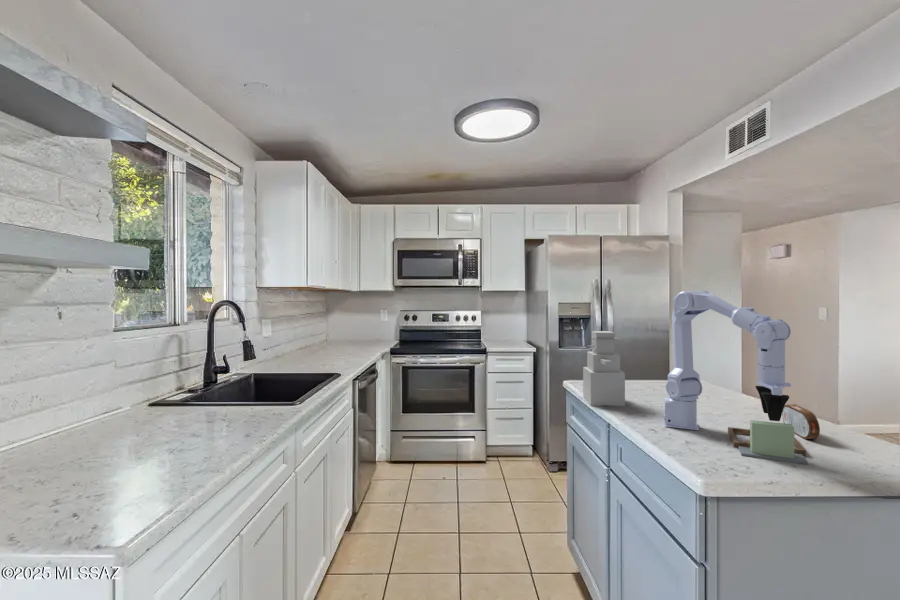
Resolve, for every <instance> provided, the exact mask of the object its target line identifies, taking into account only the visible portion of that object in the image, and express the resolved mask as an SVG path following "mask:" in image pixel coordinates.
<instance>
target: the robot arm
mask: <svg viewBox="0 0 900 600" xmlns="http://www.w3.org/2000/svg"><path fill="white" fill-rule="evenodd" d="M709 310H711V311H714V312H716V313H718V314H719V315H723V316H725V317H727V318H730V319H731V322H732V324H733V325H734V326H736V327H738V328H740V329H742V330H743V331H746V332H748V333H750V334H752V335H753V338H754V339H755V340H756V346H757V348H758V349H757V351H758V352H757V353H758V355H757V356H758V357H757V358H758V359H757V360H758V361H757V363H758V364H757V367H758V368H757V369H758V370H757V372H758V373H757V374H758V375H757V377H758V379H757V382H756V383H757V385H755V386H754V387H755V389H756V390H757V391H756V392H757V393H758V395H759V399H760V402H761V408H762V411H763V413H764V414H767V416H768V419H769V422H780V421H781V419H782V416H783V414H782V411H783V408H784V406H785V405H787V402H788V401H789V399H790V395H788V394H783V389H785V388H788V387H790V388H791V386H792V384H791V382H786V340H788V339H789V338H790V335H791V327H790V325H789V324H788V323H787V322H786V321H784V320H783V319H781V318H780V319H772V318H771V316H769V315H768V314H761V313H760V312H758V311H755V307H752V306H746V307H745V306H743V307H739V308H738V307H737V306H735V305H733V304H732V303H729V302H728V301H726V300H724V299H722V298H720V297H718V296H717V295H716V294H714V293H712V292H709V291H707V290H702V291H685V290H682V291H680V292H678V293H677V294H676V296H674V297H673V310H672V313H671V315H672V316H671V318H672V319H671V322H672V326H671V327H672V344H673V346H672V347H673V369H672V370H671V371H670V372H669V373H668V374H667V381H666V384H665V390H666V393H667V395H668V396H669V397H664V413H663V420H664V427H666V428H674V429H681V430H682V429H684V430H691V431H693V430H694V431H699V429H700V428H699V423H698V421H697V415H698V414H697V412H698V411H697V409H698V407H697V405H698V403H697V402H698V401H697V400H699V396H701V394H702V393H703V385H702V382H701V379H700V374H699V373H698V372H697V371H696V370H695V369H694V356H693V354H694V351H693V333H692V332H693V331H692V330H693V329H692V321H693V320H694V319H695V318H697V316H699V315H701V314H702V313H704V312H708V311H709Z"/></svg>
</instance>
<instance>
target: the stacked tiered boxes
mask: <svg viewBox="0 0 900 600" xmlns="http://www.w3.org/2000/svg"><path fill="white" fill-rule="evenodd" d="M616 340H621V338H619V337H618V336H617V337H616V336H615V332H614V331H610V330H603V331H602V330H599V331H598V330H592V331H591V344H590V345H588V347H591V351H587V352H586V353H587V354H586V355H587V357H586V359H587V361H586V364H587V366H583V367H582V380H583V381H582V383H583V384H582V387H583V388H582V390H583V391H582V393H583V394H582V395H583V396H582V397H583V399H584V401H586V403H588V405H589V406H591V407H602V406H601V405H615V406H614V407H626V373H625V372H624V371H623V370H621V355H620V354H619V353H617V352H616V350H615V349H616V346H615V345H616V344H615V342H616Z"/></svg>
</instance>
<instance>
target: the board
mask: <svg viewBox="0 0 900 600" xmlns="http://www.w3.org/2000/svg"><path fill="white" fill-rule="evenodd" d="M749 429H750V435H749V438H750V439H749V440H750V450H751V452H752V453H757V454H764V455H772V456H780V457H788V458H794V448H795V447H794V437H795V433H794V427H793V425H792V424H784V422H775V421H763V420H749Z"/></svg>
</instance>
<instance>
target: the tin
mask: <svg viewBox="0 0 900 600" xmlns="http://www.w3.org/2000/svg"><path fill="white" fill-rule="evenodd" d="M782 423H784V424H792V425H793V427H794V435H796V434H797V435H796V436H798V437H800V438H801V439H804V440H817V439H818V438H819V436H820V432H821V429H820V423H819V420H818V418H817V416H816V414H815V413H813V411H811V410H810V409H808V408H805V407H802V406H801V405H798V404H796V403H793V404H785V406H784V408H783V411H782Z"/></svg>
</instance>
